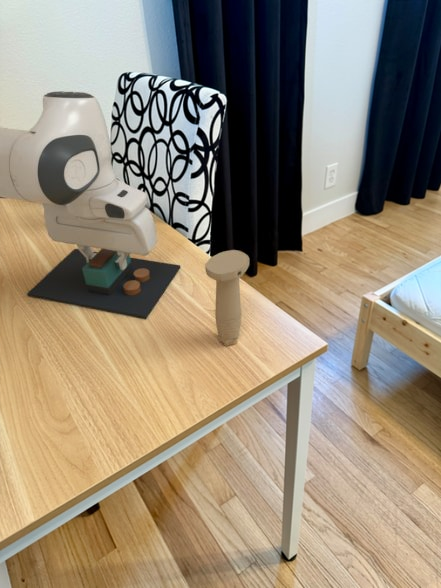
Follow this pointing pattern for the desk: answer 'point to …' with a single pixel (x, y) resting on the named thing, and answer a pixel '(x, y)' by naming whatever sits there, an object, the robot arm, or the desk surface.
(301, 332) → the desk surface
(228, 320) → the handle
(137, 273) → the grit
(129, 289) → the brown short cylinder
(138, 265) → the mat
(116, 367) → the desk surface
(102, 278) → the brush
